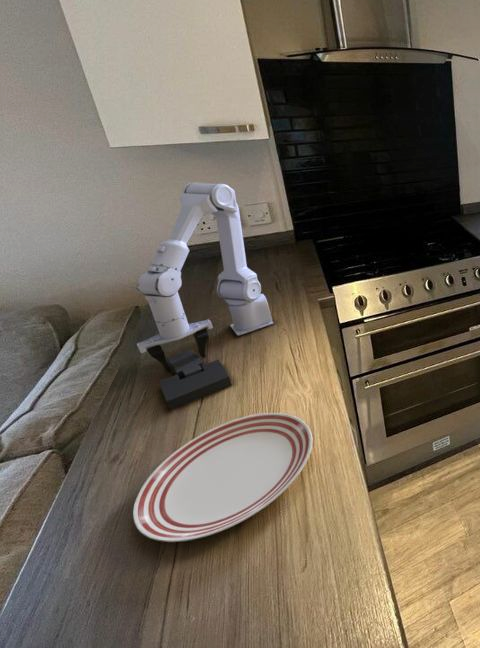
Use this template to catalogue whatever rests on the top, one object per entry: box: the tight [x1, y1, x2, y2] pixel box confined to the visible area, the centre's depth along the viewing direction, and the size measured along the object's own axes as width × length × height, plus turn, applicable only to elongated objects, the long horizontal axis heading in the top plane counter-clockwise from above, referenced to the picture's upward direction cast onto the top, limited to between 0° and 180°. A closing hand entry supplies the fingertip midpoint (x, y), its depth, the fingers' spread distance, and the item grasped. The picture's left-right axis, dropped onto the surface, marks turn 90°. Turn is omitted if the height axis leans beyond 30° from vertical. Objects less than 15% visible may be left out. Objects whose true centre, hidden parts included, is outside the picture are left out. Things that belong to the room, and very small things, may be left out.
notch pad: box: [158, 359, 233, 411], centre depth 105 cm, size 12×10×2 cm
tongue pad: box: [166, 348, 204, 380], centre depth 111 cm, size 5×12×3 cm, turn 51°
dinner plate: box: [132, 412, 314, 543], centre depth 81 cm, size 28×27×3 cm
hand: (186, 363), depth 111 cm, fingers open, 7 cm apart
